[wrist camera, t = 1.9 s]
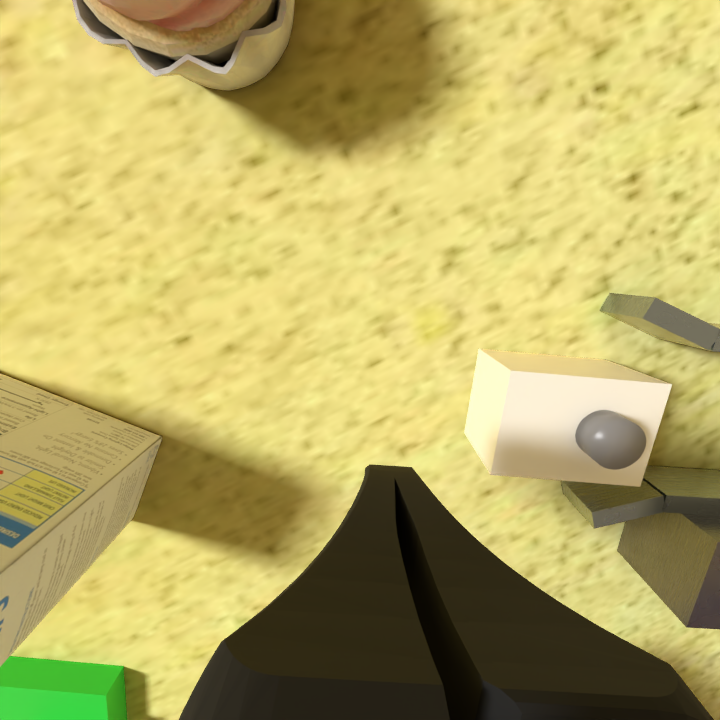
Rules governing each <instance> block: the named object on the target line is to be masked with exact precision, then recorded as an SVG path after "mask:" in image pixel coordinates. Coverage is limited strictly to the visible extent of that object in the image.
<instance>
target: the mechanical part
mask: <svg viewBox="0 0 720 720" xmlns="http://www.w3.org/2000/svg"><path fill="white" fill-rule="evenodd" d="M0 720H127V709H126V695H125V680H124V666H115V665H104V664H93V663H81V662H70V661H59V660H48V659H37V658H25V657H14V656H9V658H8V659H7V660H6V661H5V662H4V663H3V664H2V665H1V667H0Z"/></svg>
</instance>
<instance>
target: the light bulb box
mask: <svg viewBox="0 0 720 720" xmlns="http://www.w3.org/2000/svg"><path fill="white" fill-rule="evenodd" d="M161 440H162V436H159V435H156V434H154V433H151V432H149V431H146V430H144V429H141V428H139V427H136V426H133V425H131V424H128V423H126V422H123V421H121V420H118V419H116V418H113V417H111V416H108V415H105V414H103V413H100V412H98V411H95V410H93V409H90V408H87V407H85V406H82V405H80V404H77V403H75V402H72V401H70V400H67V399H65V398H62V397H60V396H57V395H54V394H52V393H49V392H47V391H44V390H42V389H39V388H37V387H34V386H32V385H29V384H26V383H24V382H21V381H19V380H16V379H14V378H11V377H8V376H6V375H3V374H1V373H0V667H1V665H2V664H3V663H4V662H5V661H6V660H7V659H8V658H9V656H10V655H11V654H12V653H13V652H14V651H15V650H16V649H17V647H18V646H19V645H20V644H21V643H22V642H23V641H24V640H25V639H26V637H27V636H28V635H29V634H30V633H31V632H32V631H33V630H34V628H35V627H36V626H37V625H38V624H39V623H40V622H41V621H42V619H43V618H44V617H45V616H46V615H47V614H48V613H49V612H50V610H51V609H52V608H53V607H54V606H55V605H56V604H57V603H58V602H59V601H60V599H61V598H62V597H63V596H64V595H65V594H66V593H67V592H68V591H69V589H70V588H71V587H72V586H73V585H74V584H75V583H76V582H77V581H78V580H79V578H80V577H81V576H82V575H83V574H84V573H85V572H86V571H87V569H88V568H89V567H90V566H91V565H92V564H93V563H94V562H95V560H96V559H97V558H98V557H99V556H100V555H101V554H102V552H103V551H104V550H105V549H106V548H107V547H108V546H109V545H110V544H111V542H112V541H113V540H114V539H115V538H116V537H117V536H118V535H119V533H120V532H121V531H122V530H123V529H124V528H125V527H126V525H127V524H128V523H129V522H130V521H131V520H132V519H133V517H134V515H135V512H136V510H137V507H138V504H139V501H140V499H141V496H142V493H143V490H144V487H145V485H146V482H147V479H148V476H149V473H150V471H151V468H152V465H153V463H154V460H155V457H156V454H157V452H158V449H159V446H160V443H161Z"/></svg>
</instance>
